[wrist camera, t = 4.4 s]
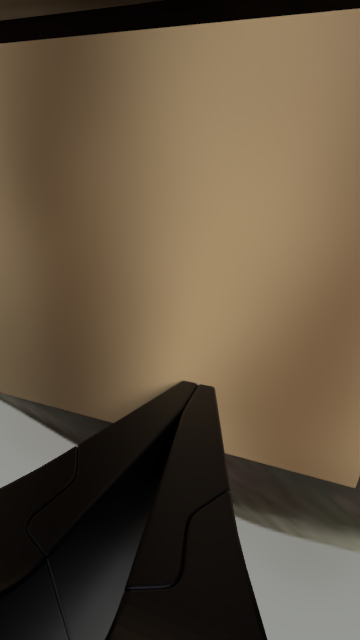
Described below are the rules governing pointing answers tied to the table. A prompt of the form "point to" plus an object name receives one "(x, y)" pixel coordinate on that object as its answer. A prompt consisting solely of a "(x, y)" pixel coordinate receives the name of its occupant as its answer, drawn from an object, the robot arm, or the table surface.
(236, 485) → the table surface
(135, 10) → the table surface
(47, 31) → the table surface
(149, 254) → the oak plank
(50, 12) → the ash board
